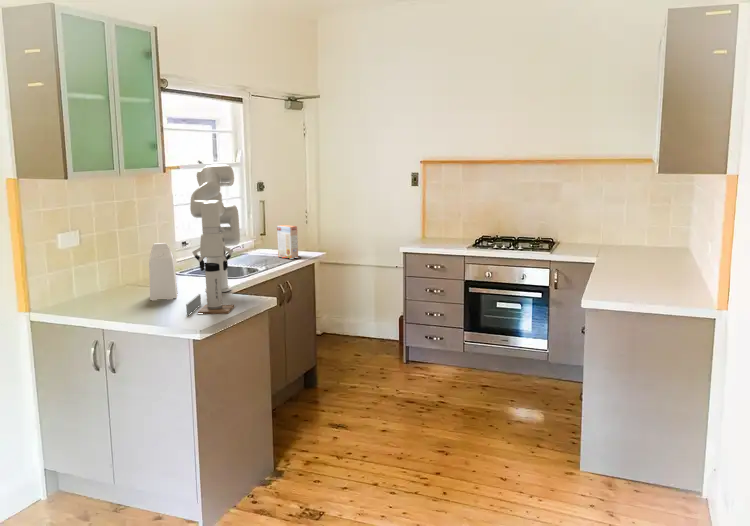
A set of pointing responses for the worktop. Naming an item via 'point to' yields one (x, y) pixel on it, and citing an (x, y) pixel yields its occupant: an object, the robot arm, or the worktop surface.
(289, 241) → the cracker box
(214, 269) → the travel mug
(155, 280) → the milk
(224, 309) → the walnut board
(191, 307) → the acrylic wall
